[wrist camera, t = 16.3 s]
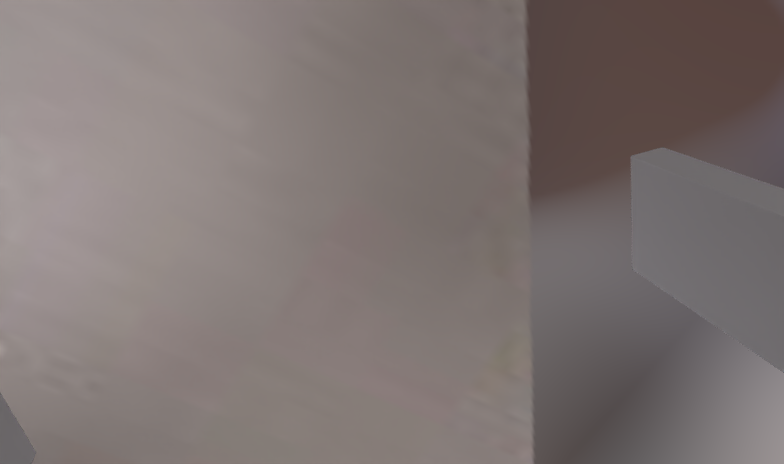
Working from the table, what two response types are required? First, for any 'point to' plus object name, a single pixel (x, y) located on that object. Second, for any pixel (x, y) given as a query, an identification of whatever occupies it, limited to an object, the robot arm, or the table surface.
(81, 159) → the table surface
